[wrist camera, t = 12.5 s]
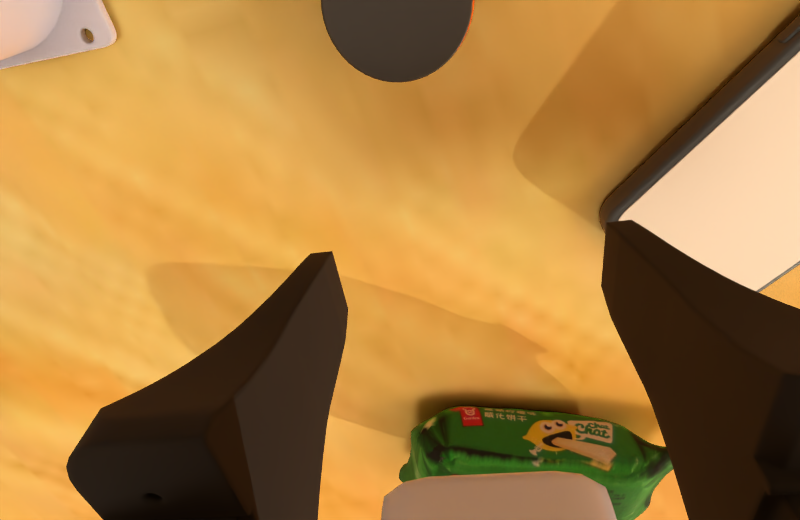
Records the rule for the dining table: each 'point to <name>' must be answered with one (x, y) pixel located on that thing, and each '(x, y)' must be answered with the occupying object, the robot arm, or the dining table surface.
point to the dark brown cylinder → (397, 34)
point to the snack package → (539, 450)
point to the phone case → (730, 174)
